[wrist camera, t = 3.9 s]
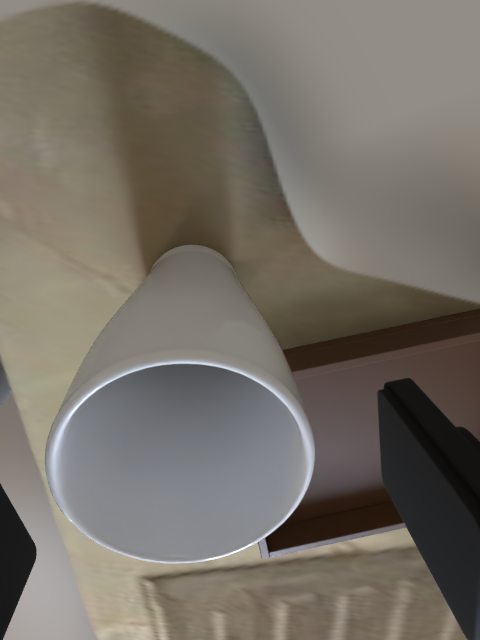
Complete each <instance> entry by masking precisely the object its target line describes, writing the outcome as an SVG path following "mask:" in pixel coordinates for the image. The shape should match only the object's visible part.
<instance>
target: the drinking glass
mask: <svg viewBox="0 0 480 640" xmlns="http://www.w3.org/2000/svg"><path fill="white" fill-rule="evenodd" d="M314 462H315V444H314V436H313V432H312V428H311V425H310V422H309V420H308V417H307V414H306V411H305V407H304V404H303V401H302V398H301V395H300V392H299V389H298V387H297V384H296V381H295V379H294V376H293V374H292V371H291V369H290V366H289V364H288V361H287V359H286V357H285V355H284V353H283V351H282V349H281V347H280V345H279V343H278V341H277V339H276V337H275V336H274V334H273V332H272V330H271V329H270V327H269V326H268V324H267V322H266V321H265V319H264V318H263V316H262V315H261V313H260V312H259V310H258V309H257V307H256V306H255V304H254V303H253V302H252V300H251V298H250V297H249V295H248V294H247V292H246V291H245V289H244V288H243V286H242V285H241V283H240V281H239V280H238V277H237V275H236V272H235V270H234V268H233V267H232V265H231V264H230V262H229V261H228V260H227V259H226V258H225V257H224V256H223V255H221V254H220V253H218V252H217V251H215V250H213V249H211V248H209V247H205V246H201V245H183V246H179V247H176V248H173V249H171V250H169V251H167V252H166V253H164V254H163V255H162V256H161V257H160V258H159V259H158V260H157V261H156V262H155V263H154V264H153V266H152V268H151V269H150V272H149V274H148V275H147V276H146V278H145V279H144V280H143V281H142V283H141V284H140V285H139V286H138V287H137V289H136V290H135V291H134V292H133V293H132V294H131V296H130V297H129V298H128V299H127V300H126V302H125V303H124V304H123V305H122V306H121V307H120V309H119V310H118V311H117V312H116V313H115V315H114V316H113V317H112V318H111V320H110V321H109V322H108V323H107V325H106V326H105V327H104V329H103V330H102V331H101V333H100V334H99V336H98V337H97V339H96V340H95V342H94V343H93V345H92V347H91V348H90V350H89V352H88V353H87V355H86V357H85V358H84V360H83V362H82V364H81V365H80V367H79V369H78V371H77V373H76V375H75V377H74V379H73V381H72V383H71V385H70V388H69V390H68V392H67V394H66V396H65V398H64V401H63V403H62V405H61V407H60V410H59V412H58V414H57V416H56V418H55V420H54V422H53V424H52V426H51V429H50V432H49V435H48V439H47V444H46V450H45V468H46V476H47V480H48V484H49V487H50V490H51V493H52V495H53V497H54V499H55V501H56V503H57V505H58V506H59V508H60V509H61V511H62V512H63V514H64V515H65V516H66V517H67V518H68V520H69V521H70V522H71V523H72V524H73V525H74V526H75V527H76V528H77V529H78V530H80V531H81V532H82V533H83V534H84V535H86V536H87V537H89V538H90V539H92V540H93V541H95V542H96V543H98V544H100V545H102V546H103V547H105V548H108V549H110V550H112V551H114V552H117V553H119V554H122V555H125V556H128V557H132V558H135V559H140V560H145V561H150V562H158V563H194V562H201V561H207V560H212V559H217V558H220V557H224V556H227V555H230V554H233V553H236V552H238V551H241V550H243V549H245V548H247V547H249V546H251V545H253V544H255V543H257V542H259V541H260V540H262V539H263V538H265V537H267V536H268V535H269V534H271V533H272V532H273V531H275V530H276V529H277V528H278V527H279V526H280V525H282V524H283V523H284V522H285V521H286V520H287V519H288V518H289V516H290V515H291V514H292V513H293V512H294V510H295V509H296V508H297V506H298V505H299V503H300V502H301V500H302V499H303V497H304V495H305V493H306V491H307V489H308V486H309V484H310V481H311V478H312V474H313V470H314Z"/></svg>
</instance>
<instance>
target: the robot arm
mask: <svg viewBox="0 0 480 640" xmlns="http://www.w3.org/2000/svg"><path fill="white" fill-rule="evenodd" d="M377 398H378V417H379V437H380V456H381V474H382V479H383V483H384V486H385V488H386V490H387V492H388V494H389V496H390V498H391V499H392V501H393V503H394V505H395V507H396V509H397V511H398V512H399V514H400V516H401V518H402V520H403V522H404V524H405V525H406V527H407V529H408V531H409V533H410V535H411V537H412V538H413V540H414V542H415V544H416V546H417V548H418V549H419V551H420V553H421V555H422V557H423V559H424V561H425V562H426V564H427V566H428V568H429V570H430V572H431V574H432V575H433V577H434V579H435V581H436V583H437V585H438V587H439V588H440V590H441V592H442V594H443V596H444V598H445V600H446V601H447V603H448V605H449V607H450V609H451V611H452V613H453V614H454V616H455V618H456V620H457V622H458V624H459V626H460V627H461V629H462V631H463V633H464V635H465V636H466V638H467V639H468V640H480V442H479V441H478V440H477V439H476V437H475V436H474V435H473V434H472V433H471V432H469V431H468V430H467V429H466V428H464V427H461V426H460V427H455V426H454V425H453V423H452V422H451V421H450V420H449V419H448V418H447V417H446V416H445V415H444V414H443V413H442V411H441V410H440V409H439V408H438V407H437V406H436V405H435V404H434V403H433V402H432V401H431V399H430V398H429V397H428V396H427V395H426V394H425V393H424V392H423V391H422V390H421V389H420V387H419V386H418V385H417V384H416V383H415V382H414V381H413V380H412V379H411V378H405V379H400V380H395V381H390V382H386V383H385V384H384V389H382V390H379V391H378V393H377ZM35 560H36V546H35V543H34V542H33V540H32V538H31V536H30V535H29V533H28V531H27V530H26V528H25V526H24V524H23V522H22V521H21V519H20V517H19V516H18V514H17V512H16V510H15V509H14V507H13V505H12V504H11V502H10V500H9V498H8V496H7V495H6V493H5V491H4V489H3V488H2V486H1V484H0V640H3V637H4V635H5V632H6V630H7V628H8V625H9V623H10V621H11V618H12V616H13V613H14V611H15V608H16V606H17V604H18V601H19V599H20V596H21V594H22V591H23V589H24V587H25V585H26V582H27V579H28V577H29V575H30V572H31V570H32V567H33V565H34V563H35Z"/></svg>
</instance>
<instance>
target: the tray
mask: <svg viewBox="0 0 480 640" xmlns="http://www.w3.org/2000/svg"><path fill="white" fill-rule="evenodd" d="M283 353H284V355H285V357H286V359H287V361H288V364H289V366H290V369H291V371H292V374H293V376H294V379H295V381H296V384H297V387H298V389H299V392H300V395H301V398H302V401H303V404H304V407H305V411H306V414H307V417H308V420H309V422H310V425H311V428H312V432H313V436H314V444H315V462H314V470H313V474H312V478H311V481H310V484H309V486H308V489H307V491H306V493H305V495H304V497H303V499H302V500H301V502H300V503H299V505H298V506H297V508H296V509H295V510H294V512H293V513H292V514H291V515H290V516H289V518H288V519H287V520H286V521H285V522H284V523H283V524H282V525H280V526H279V527H278V528H277V529H276V530H275V531H273V532H272V533H271V534H269V535H268V536H267V537H265V538H263V539H262V540H260V541H259V542H258V544H259V549H260V553H261V557H262V559H265V558H269V557H274V556H278V555H283V554H287V553H292V552H297V551H301V550H306V549H310V548H315V547H319V546H324V545H328V544H333V543H338V542H342V541H347V540H351V539H356V538H360V537H365V536H369V535H374V534H379V533H383V532H388V531H392V530H397V529H401V528H406V525H405V524H404V522H403V520H402V518H401V516H400V514H399V512H398V511H397V509H396V507H395V505H394V503H393V501H392V499H391V498H390V496H389V494H388V492H387V490H386V488H385V486H384V483H383V479H382V474H381V456H380V437H379V417H378V398H377V393H378V391H379V390H382V389H384V384H385V383H386V382H390V381H395V380H400V379H405V378H411V379H412V380H413V381H414V382H415V383H416V384H417V385H418V386H419V387H420V389H421V390H422V391H423V392H424V393H425V394H426V395H427V396H428V397H429V398H430V399H431V401H432V402H433V403H434V404H435V405H436V406H437V407H438V408H439V409H440V410H441V411H442V413H443V414H444V415H445V416H446V417H447V418H448V419H449V420H450V421H451V422H452V423H453V425H454V426H455V427H460V426H461V427H464V428H466V429H467V430H468V431H469V432H471V433H472V434H473V435H474V436H475V437H476V439H477V440H478V441H479V442H480V309H478V310H473V311H468V312H463V313H459V314H454V315H449V316H444V317H440V318H435V319H430V320H425V321H421V322H416V323H411V324H406V325H402V326H397V327H392V328H387V329H383V330H378V331H373V332H368V333H364V334H359V335H354V336H349V337H345V338H340V339H335V340H330V341H326V342H321V343H316V344H311V345H307V346H302V347H297V348H292V349H287V350H283Z"/></svg>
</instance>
